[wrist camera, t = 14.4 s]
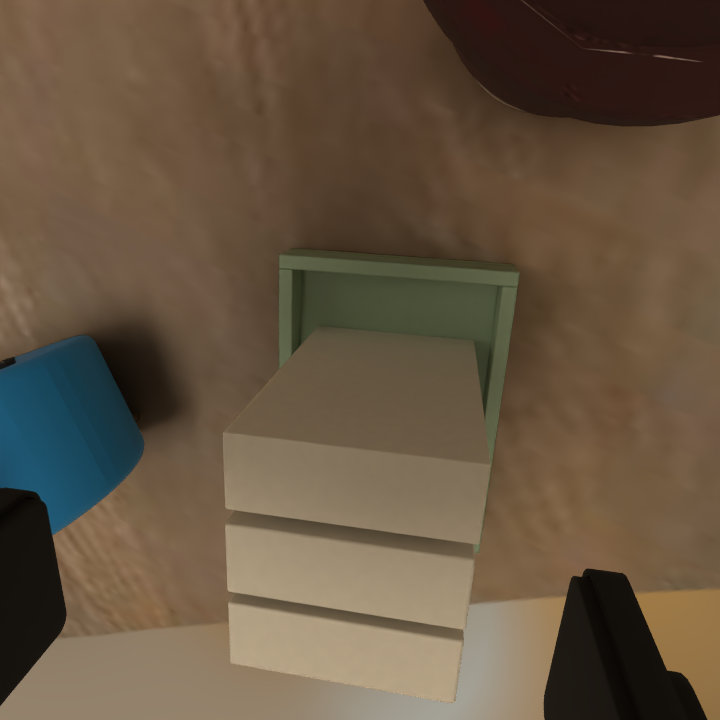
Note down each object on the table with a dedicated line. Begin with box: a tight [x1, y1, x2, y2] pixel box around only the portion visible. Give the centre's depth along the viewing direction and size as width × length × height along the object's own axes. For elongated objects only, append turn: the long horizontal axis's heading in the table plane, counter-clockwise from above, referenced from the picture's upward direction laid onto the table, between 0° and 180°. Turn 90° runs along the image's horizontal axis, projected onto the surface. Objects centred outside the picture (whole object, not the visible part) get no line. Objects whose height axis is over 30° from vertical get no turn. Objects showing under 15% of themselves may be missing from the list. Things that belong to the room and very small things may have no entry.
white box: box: [223, 326, 491, 545], centre depth 19 cm, size 2×7×11 cm, turn 87°
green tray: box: [279, 248, 520, 553], centre depth 25 cm, size 13×10×2 cm
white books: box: [225, 510, 475, 703], centre depth 21 cm, size 5×7×11 cm
